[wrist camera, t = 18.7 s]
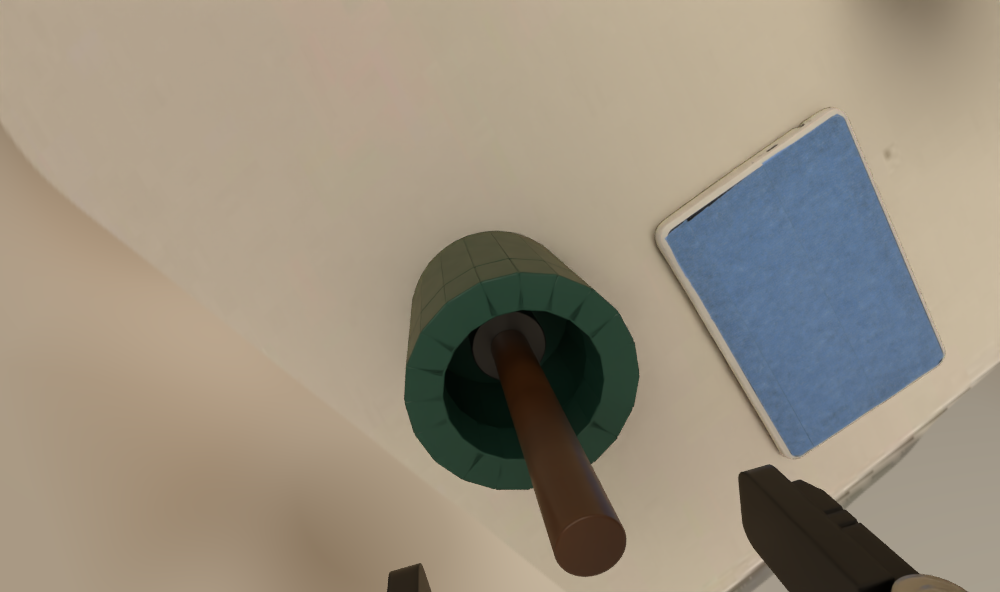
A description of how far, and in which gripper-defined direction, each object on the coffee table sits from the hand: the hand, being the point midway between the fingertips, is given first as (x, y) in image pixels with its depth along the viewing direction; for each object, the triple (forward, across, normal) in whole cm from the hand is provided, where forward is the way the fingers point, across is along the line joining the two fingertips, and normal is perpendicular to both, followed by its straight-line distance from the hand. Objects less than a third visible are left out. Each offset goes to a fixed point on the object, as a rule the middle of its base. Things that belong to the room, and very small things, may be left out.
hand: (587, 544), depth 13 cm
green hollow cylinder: (+18, 0, 0) cm, 18 cm away
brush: (+18, 0, 0) cm, 18 cm away
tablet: (+18, -19, +4) cm, 27 cm away
